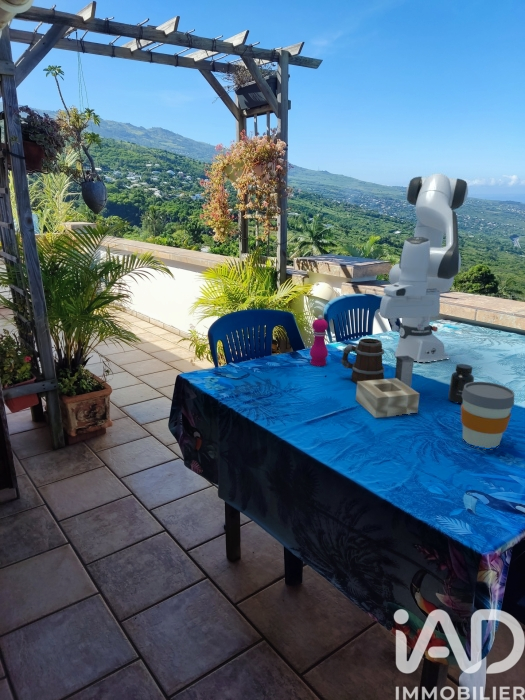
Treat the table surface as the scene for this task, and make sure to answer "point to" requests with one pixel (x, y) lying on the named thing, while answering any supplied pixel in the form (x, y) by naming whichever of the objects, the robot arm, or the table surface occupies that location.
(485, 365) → the table surface
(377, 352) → the mug
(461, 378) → the supplement bottle
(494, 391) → the reusable coffee cup
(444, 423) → the table surface
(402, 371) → the grey rectangular bar
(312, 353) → the pepper mill
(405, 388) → the well block
